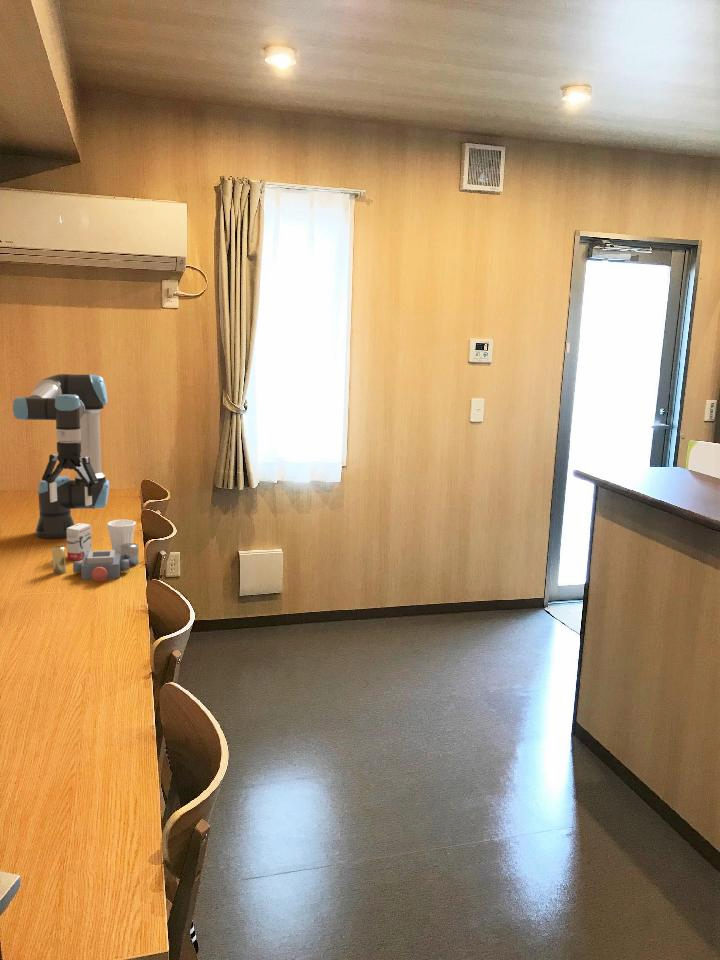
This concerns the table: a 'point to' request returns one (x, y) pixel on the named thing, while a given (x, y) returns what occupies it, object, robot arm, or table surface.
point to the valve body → (101, 565)
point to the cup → (121, 533)
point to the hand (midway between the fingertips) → (71, 503)
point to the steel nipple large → (130, 553)
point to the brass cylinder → (58, 560)
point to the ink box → (78, 541)
